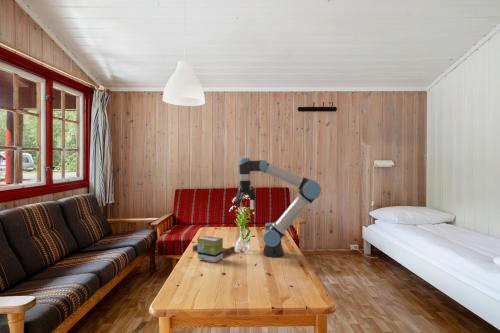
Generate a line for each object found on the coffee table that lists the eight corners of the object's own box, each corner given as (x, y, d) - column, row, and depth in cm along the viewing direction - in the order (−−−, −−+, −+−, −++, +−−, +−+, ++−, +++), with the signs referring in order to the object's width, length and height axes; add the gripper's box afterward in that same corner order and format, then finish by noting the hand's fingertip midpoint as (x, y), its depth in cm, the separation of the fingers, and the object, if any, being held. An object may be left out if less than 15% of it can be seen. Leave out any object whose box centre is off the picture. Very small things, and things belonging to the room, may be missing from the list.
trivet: (212, 255, 226) (212, 254, 226) (224, 259, 218) (224, 257, 218) (200, 260, 216) (200, 259, 216) (212, 263, 209) (212, 262, 209)
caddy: (209, 245, 252) (209, 241, 252) (234, 251, 235) (234, 246, 235) (192, 251, 238) (192, 245, 238) (217, 257, 221) (217, 252, 221)
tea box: (197, 259, 215) (196, 238, 215) (205, 255, 224) (205, 235, 224) (215, 262, 209) (215, 240, 208) (223, 258, 218) (223, 237, 217)
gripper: (251, 178, 229) (252, 207, 229) (229, 181, 209) (230, 212, 210) (260, 179, 224) (261, 208, 224) (237, 181, 204) (238, 213, 205)
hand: (246, 210), depth 217 cm, fingers open, 13 cm apart
